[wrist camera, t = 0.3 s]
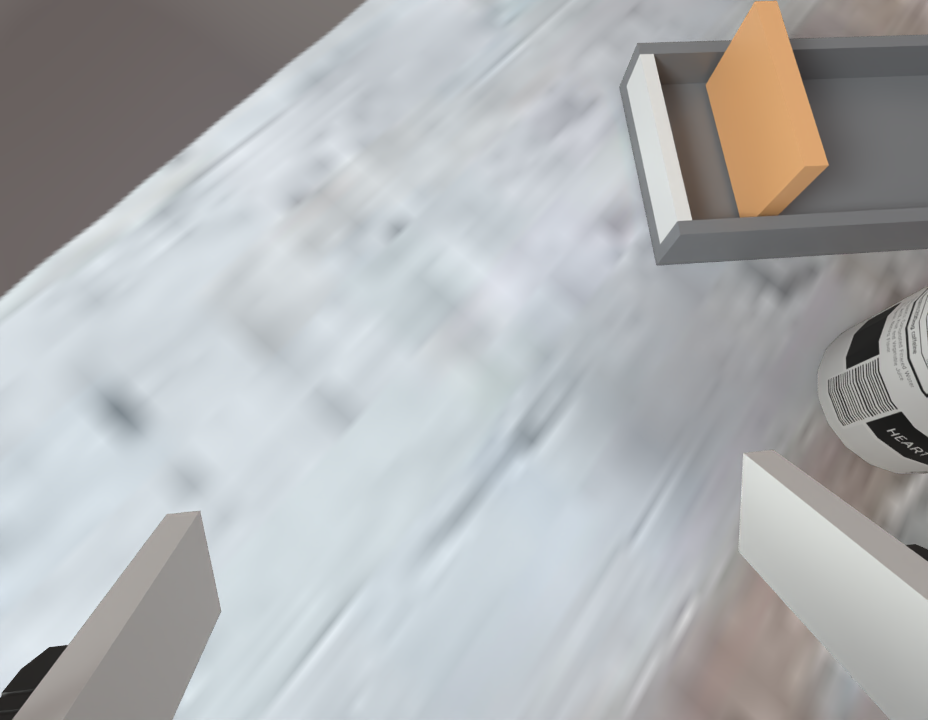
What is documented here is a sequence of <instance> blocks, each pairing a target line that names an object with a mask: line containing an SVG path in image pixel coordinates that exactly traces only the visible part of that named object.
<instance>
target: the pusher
mask: <svg viewBox="0 0 928 720" xmlns="http://www.w3.org/2000/svg"><path fill="white" fill-rule="evenodd" d="M706 88H707V92H708V96H709V100H710V104H711V108H712V111H713V115H714V119H715V123H716V127H717V131H718V135H719V138H720V142H721V146H722V150H723V154H724V158H725V162H726V165H727V169H728V173H729V177H730V181H731V185H732V189H733V192H734V196H735V200H736V204H737V208H738V212H739V216H740V218H742V217H760V216H778V215H779V214H780V213H781V212H782V211H783V210H784V209H785V208H786V207H787V206H788V205H789V204H790V203H791V202H792V201H793V200H794V199H795V198H796V197H797V196H798V195H799V194H800V193H801V192H802V191H803V190H804V189H805V188H806V187H807V186H808V185H809V184H810V183H811V182H812V181H813V180H814V179H815V178H816V177H817V176H818V175H820V174H821V173H822V172H823V171H824V170H825V169H826V168H827V167H828V166H829V164H828V161H827V158H826V155H825V151H824V148H823V145H822V142H821V139H820V136H819V132H818V127H817V123H816V121H815V120H814V117H813V113H812V110H811V107H810V104H809V101H808V98H807V95H806V91H805V88H804V85H803V82H802V79H801V76H800V72H799V69H798V66H797V63H796V60H795V57H794V53H793V50H792V47H791V44H790V41H789V38H788V34H787V31H786V28H785V25H784V22H783V19H782V16H781V12H780V9H779V6H778V3H777V1H755V2H754V4H753V6H752V7H751V9H750V11H749V12H748V14H747V16H746V17H745V19H744V21H743V23H742V24H741V26H740V28H739V29H738V31H737V33H736V34H735V36H734V38H733V40H732V41H731V43H730V45H729V46H728V48H727V50H726V51H725V53H724V55H723V56H722V58H721V60H720V62H719V63H718V65H717V67H716V68H715V70H714V72H713V73H712V75H711V77H710V78H709V80H708V82H707V84H706Z"/></svg>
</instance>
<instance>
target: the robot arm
mask: <svg viewBox="0 0 928 720" xmlns="http://www.w3.org/2000/svg"><path fill="white" fill-rule="evenodd" d="M739 552H740V554H741V555H742V556H743V557H744V558H745V559H746V560H747V561H748V562H749V564H750V565H751V566H752V567H753V568H754V569H755V570H756V571H757V572H758V574H759V575H760V576H761V577H762V578H763V579H764V580H765V581H766V582H767V584H768V585H769V586H770V587H771V588H772V589H773V590H774V591H775V592H776V594H777V595H778V596H779V597H780V598H781V599H782V600H783V601H784V602H785V604H786V605H787V606H788V607H789V608H790V609H791V610H792V611H793V612H794V614H795V615H796V616H797V617H798V618H799V619H800V620H801V621H802V622H803V624H804V625H805V626H806V627H807V628H808V629H809V630H810V631H811V632H812V634H813V635H814V636H815V637H816V638H817V639H818V640H819V641H820V642H821V644H822V645H823V646H824V647H825V648H826V649H827V650H828V651H829V652H830V654H831V655H832V656H833V657H834V658H835V659H836V660H837V661H838V662H839V664H840V665H841V666H842V667H843V668H844V669H845V670H846V671H847V672H848V674H849V675H850V676H851V677H852V678H853V679H854V680H855V681H856V682H857V684H858V685H859V686H860V687H861V688H862V689H863V690H864V691H865V692H866V694H867V695H868V696H869V697H870V698H871V699H872V700H873V701H874V702H875V704H876V705H877V706H878V707H879V708H880V709H881V710H882V711H883V713H884V714H885V715H886V716H887V717H888V718H889V719H890V720H928V550H927V549H925V548H923V547H921V546H918V545H916V544H914V545H904V544H903V543H901V542H900V541H899V540H897V539H896V538H895V537H893V536H892V535H890V534H889V533H888V532H886V531H885V530H884V529H882V528H881V527H879V526H878V525H877V524H875V523H874V522H872V521H871V520H870V519H868V518H867V517H866V516H864V515H863V514H861V513H860V512H859V511H857V510H856V509H854V508H853V507H852V506H850V505H849V504H848V503H846V502H845V501H843V500H842V499H841V498H839V497H838V496H837V495H835V494H834V493H832V492H831V491H830V490H828V489H827V488H825V487H824V486H823V485H821V484H820V483H819V482H817V481H816V480H814V479H813V478H812V477H810V476H809V475H808V474H806V473H805V472H803V471H802V470H801V469H799V468H798V467H796V466H795V465H794V464H792V463H791V462H790V461H788V460H787V459H785V458H784V457H783V456H781V455H780V454H778V453H777V452H776V451H774V450H766V451H757V452H748V453H743V469H742V490H741V512H740V533H739ZM220 613H221V608H220V603H219V598H218V593H217V589H216V584H215V579H214V574H213V570H212V565H211V560H210V555H209V551H208V546H207V541H206V536H205V532H204V527H203V522H202V517H201V513H200V511H193V512H183V513H174V514H167V515H166V516H165V517H164V519H163V520H162V521H161V523H160V524H159V525H158V526H157V528H156V529H155V530H154V532H153V533H152V534H151V536H150V537H149V538H148V540H147V541H146V542H145V544H144V545H143V546H142V548H141V549H140V550H139V552H138V553H137V554H136V556H135V557H134V558H133V560H132V561H131V562H130V564H129V565H128V566H127V568H126V569H125V570H124V572H123V573H122V574H121V576H120V577H119V578H118V580H117V581H116V582H115V584H114V585H113V586H112V588H111V589H110V590H109V592H108V593H107V594H106V596H105V597H104V598H103V600H102V601H101V602H100V604H99V605H98V606H97V608H96V609H95V610H94V612H93V613H92V614H91V616H90V617H89V618H88V620H87V621H86V622H85V624H84V625H83V626H82V628H81V629H80V630H79V632H78V633H77V634H76V636H75V637H74V638H73V640H72V641H71V642H70V643H69V645H64V646H56V647H49V648H48V649H46V650H45V651H44V652H43V653H41V654H40V655H39V656H37V657H36V658H35V659H33V660H32V661H31V662H30V663H28V664H27V665H26V666H24V667H23V668H22V669H21V670H20V671H19V672H18V674H17V675H16V676H15V677H14V678H13V680H12V681H11V682H10V683H9V685H8V686H7V687H6V688H5V690H4V691H3V692H2V696H1V698H0V720H172V719H173V717H174V715H175V713H176V710H177V708H178V706H179V704H180V702H181V699H182V697H183V695H184V693H185V690H186V688H187V686H188V684H189V682H190V679H191V677H192V675H193V673H194V671H195V668H196V666H197V664H198V662H199V659H200V657H201V655H202V653H203V651H204V648H205V646H206V644H207V642H208V639H209V637H210V635H211V633H212V631H213V628H214V626H215V624H216V622H217V619H218V617H219V615H220Z"/></svg>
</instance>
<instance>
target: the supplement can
mask: <svg viewBox="0 0 928 720" xmlns="http://www.w3.org/2000/svg"><path fill="white" fill-rule="evenodd" d="M817 374H818V398H819V401H820V403H821V406H822V409H823V411H824V414H825V417H826V419H827V422H828V424H829V425H830V427H831V428H832V429H833V430H834V432H835V433H836V434H837V436H838V437H839V438H840V440H841V441H842V442H843V443H844V445H845V446H846V447H847V448H848V449H850V450H851V451H853V452H854V453H855V454H857V455H858V456H859V457H861V458H862V459H864V460H865V461H866V462H868V463H869V464H870V465H873V466H876V467H879V468H882V469H885V470H888V471H891V472H894V473H897V474H917V473H928V286H927V287H925V288H923V289H921V290H919V291H918V292H916V293H914V294H912V295H910V296H909V297H907V298H905V299H903V300H901V301H900V302H898V303H896V304H894V305H892V306H890V307H889V308H887V309H885V310H883V311H881V312H880V313H878V314H876V315H874V316H872V317H870V318H869V319H867V320H865V321H863V322H861V323H860V324H858V325H856V326H854V327H852V328H851V329H849V330H847V331H845V332H843V333H842V334H841V335H840V336H839V337H838V338H837V339H836V340H835V341H834V342H833V343H832V344H831V345H830V346H829V347H828V348H827V349H826V350H825V353H824V355H823V358H822V361H821V363H820V366H819V368H818V371H817Z"/></svg>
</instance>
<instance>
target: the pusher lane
mask: <svg viewBox="0 0 928 720" xmlns="http://www.w3.org/2000/svg"><path fill="white" fill-rule="evenodd" d="M731 41H732V40H729V41H695V42H660V43H637V46H636V48H635V50H634V53H633V55H632V58H631V60H630V63H629V65H628V67H627V70H626V72H625V75H624V77H623V80H622V82H621V84H620V92H621V97H622V102H623V106H624V111H625V116H626V121H627V126H628V130H629V135H630V140H631V145H632V150H633V154H634V159H635V164H636V169H637V174H638V178H639V183H640V188H641V193H642V197H643V202H644V207H645V212H646V217H647V221H648V226H649V231H650V236H651V241H652V245H653V250H654V255H655V260H656V265H670V264H686V263H702V262H719V261H735V260H751V259H767V258H784V257H800V256H816V255H833V254H849V253H865V252H881V251H898V250H914V249H928V35H902V36H867V37H833V38H798V39H789V41H790V44H791V47H792V50H793V53H794V57H795V60H796V63H797V66H798V69H799V72H800V76H801V79H802V82H803V85H804V88H805V91H806V95H807V98H808V101H809V104H810V107H811V110H812V113H813V117H814V120H815V121H816V123H817V127H818V132H819V136H820V139H821V142H822V145H823V148H824V151H825V155H826V158H827V161H828V164H829V166H828V167H827V168H826V169H825V170H824V171H823V172H822V173H821V174H820V175H818V176H817V177H816V178H815V179H814V180H813V181H812V182H811V183H810V184H809V185H808V186H807V187H806V188H805V189H804V190H803V191H802V192H801V193H800V194H799V195H798V196H797V197H796V198H795V199H794V200H793V201H792V202H791V203H790V204H789V205H788V206H787V207H786V208H785V209H784V210H783V211H782V212H781V213H780V214H779V215H778V216H760V217H742V218H740V216H739V212H738V208H737V204H736V200H735V196H734V192H733V189H732V185H731V181H730V177H729V173H728V169H727V165H726V162H725V158H724V154H723V150H722V146H721V142H720V138H719V135H718V131H717V127H716V123H715V119H714V115H713V111H712V108H711V104H710V100H709V96H708V92H707V88H706V84H707V82H708V80H709V78H710V77H711V75H712V73H713V72H714V70H715V68H716V67H717V65H718V63H719V62H720V60H721V58H722V56H723V55H724V53H725V51H726V50H727V48H728V46H729V45H730V43H731Z"/></svg>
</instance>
